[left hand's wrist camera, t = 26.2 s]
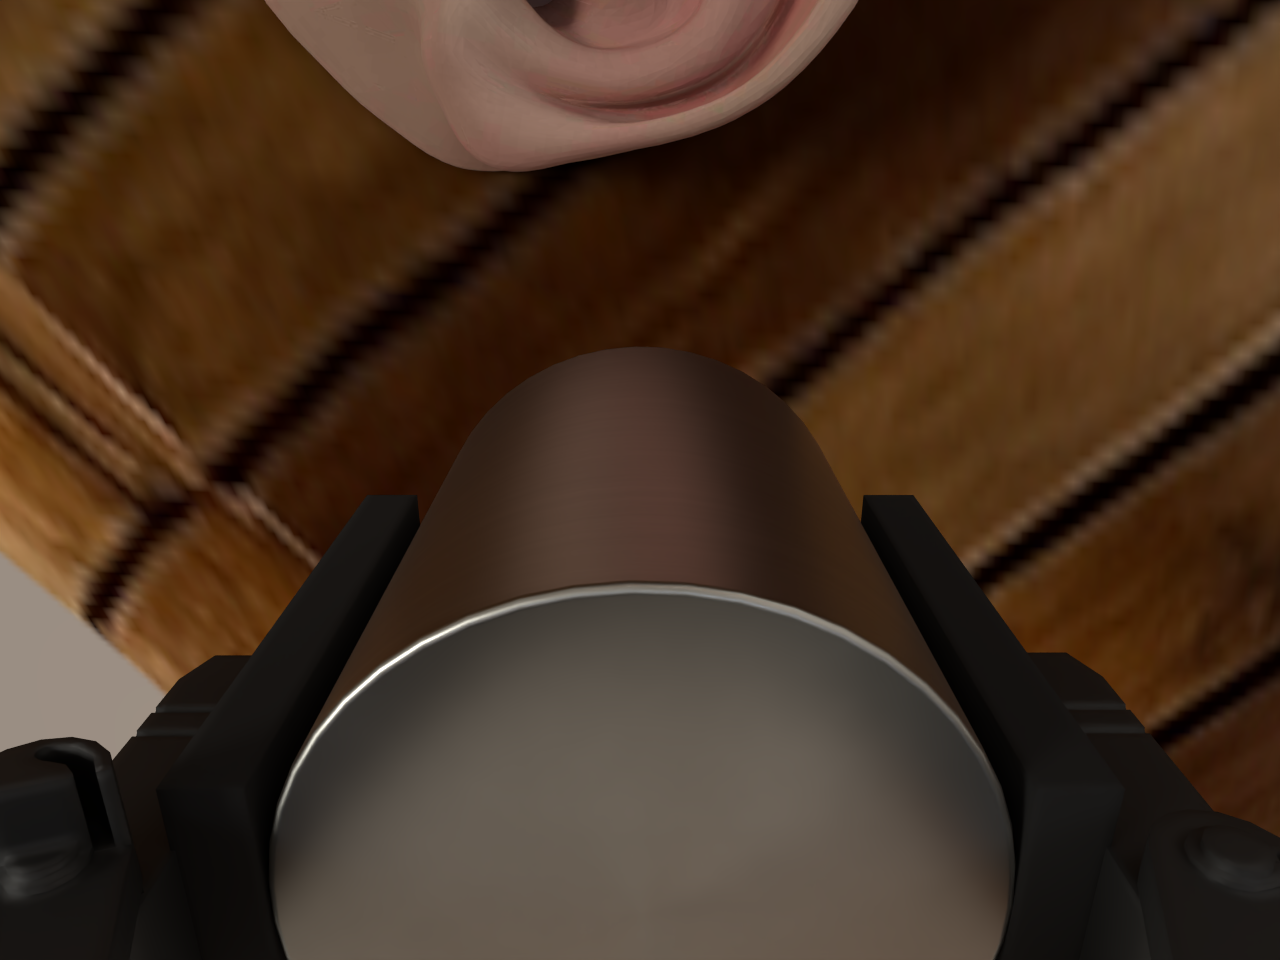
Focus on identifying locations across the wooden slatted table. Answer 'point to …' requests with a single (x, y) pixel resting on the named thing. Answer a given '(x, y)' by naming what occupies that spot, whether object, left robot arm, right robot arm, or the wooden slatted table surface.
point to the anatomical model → (559, 69)
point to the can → (641, 708)
